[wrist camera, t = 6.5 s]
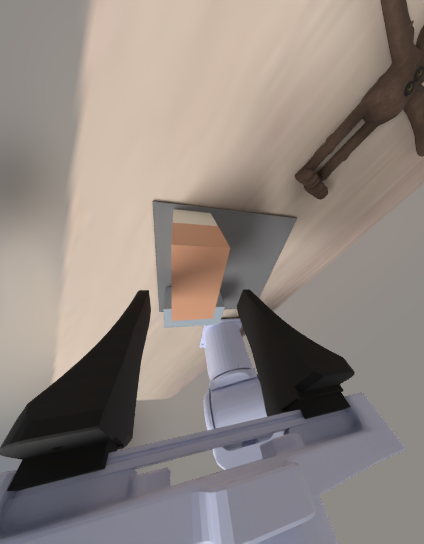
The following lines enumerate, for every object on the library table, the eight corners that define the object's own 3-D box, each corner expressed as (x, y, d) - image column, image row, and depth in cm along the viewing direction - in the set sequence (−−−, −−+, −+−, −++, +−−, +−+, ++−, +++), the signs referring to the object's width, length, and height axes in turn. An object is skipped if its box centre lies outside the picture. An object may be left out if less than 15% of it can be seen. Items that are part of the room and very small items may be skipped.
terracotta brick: (206, 290, 19) (212, 318, 16) (172, 291, 18) (171, 320, 15) (218, 226, 14) (230, 247, 11) (172, 222, 13) (171, 245, 10)
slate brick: (218, 286, 24) (224, 306, 21) (214, 304, 27) (219, 324, 24) (165, 287, 22) (163, 309, 19) (165, 305, 25) (164, 327, 22)
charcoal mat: (253, 306, 30) (254, 308, 29) (159, 310, 26) (159, 312, 25) (295, 217, 20) (296, 218, 20) (152, 200, 16) (152, 201, 15)
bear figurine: (254, 117, 11) (650, -510, 4) (239, 120, 14) (449, -234, 7) (350, 235, 20) (535, 97, 13) (328, 220, 23) (465, 104, 16)
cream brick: (201, 271, 22) (206, 291, 19) (172, 270, 21) (171, 291, 18) (210, 213, 17) (218, 227, 14) (173, 208, 16) (172, 222, 13)
